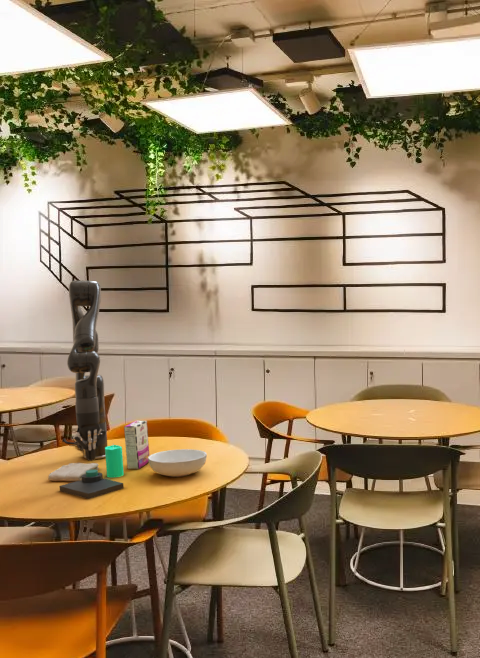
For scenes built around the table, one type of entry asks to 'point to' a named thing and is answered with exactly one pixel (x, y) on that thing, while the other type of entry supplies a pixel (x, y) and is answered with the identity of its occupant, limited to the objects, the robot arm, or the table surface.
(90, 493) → the scale
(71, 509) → the table surface
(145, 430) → the candy bar box
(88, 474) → the button
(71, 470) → the washcloth
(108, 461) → the candle
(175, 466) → the serving bowl
